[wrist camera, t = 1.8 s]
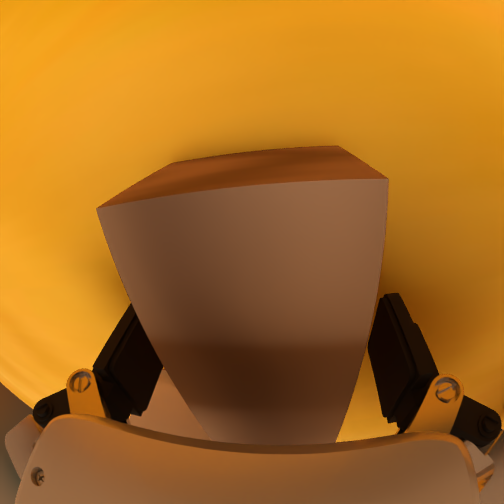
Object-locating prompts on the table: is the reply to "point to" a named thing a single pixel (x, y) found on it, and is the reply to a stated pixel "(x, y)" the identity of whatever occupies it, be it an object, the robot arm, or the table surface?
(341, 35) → the table surface
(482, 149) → the table surface
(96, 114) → the table surface
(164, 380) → the cradle
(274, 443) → the brown rectangular block
